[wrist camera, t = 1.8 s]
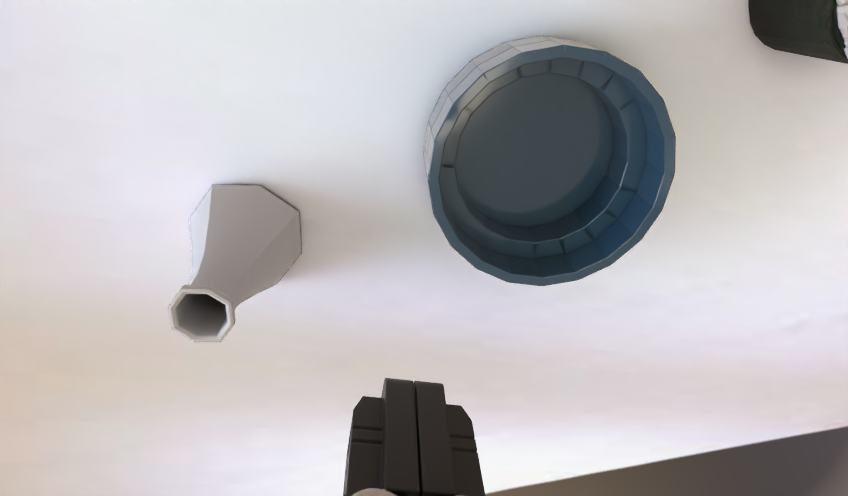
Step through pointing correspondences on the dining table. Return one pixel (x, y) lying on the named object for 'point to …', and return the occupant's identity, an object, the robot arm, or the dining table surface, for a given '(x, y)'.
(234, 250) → the flask
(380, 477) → the robot arm
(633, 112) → the bowl
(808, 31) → the sushi
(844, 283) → the dining table surface
